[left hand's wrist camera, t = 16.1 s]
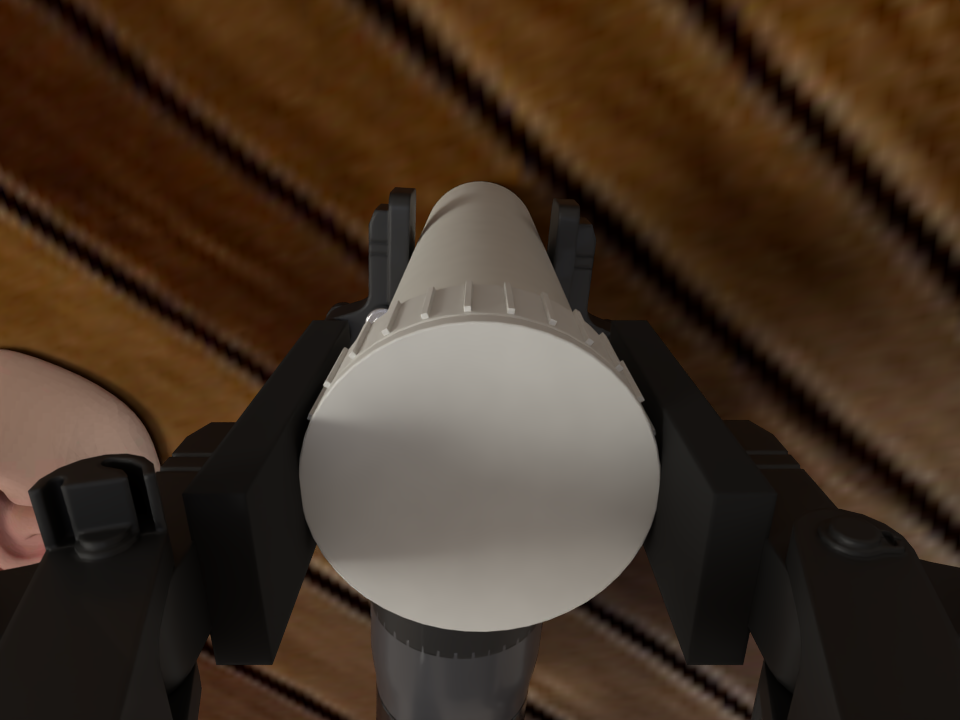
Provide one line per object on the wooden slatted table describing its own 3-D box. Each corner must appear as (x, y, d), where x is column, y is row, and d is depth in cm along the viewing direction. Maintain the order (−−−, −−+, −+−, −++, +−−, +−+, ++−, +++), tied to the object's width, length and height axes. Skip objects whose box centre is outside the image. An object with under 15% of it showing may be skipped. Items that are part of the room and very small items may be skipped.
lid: (365, 575, 13) (345, 655, 11) (285, 309, 11) (244, 353, 9) (647, 535, 13) (677, 611, 11) (621, 252, 11) (651, 285, 9)
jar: (419, 186, 28) (305, 348, 10) (530, 176, 28) (627, 321, 10) (432, 294, 30) (357, 600, 12) (537, 285, 30) (628, 580, 11)
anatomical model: (-149, 366, 27) (134, 415, 28) (-73, 334, 30) (175, 378, 31) (-106, 612, 32) (134, 647, 32) (-44, 558, 35) (169, 591, 36)
